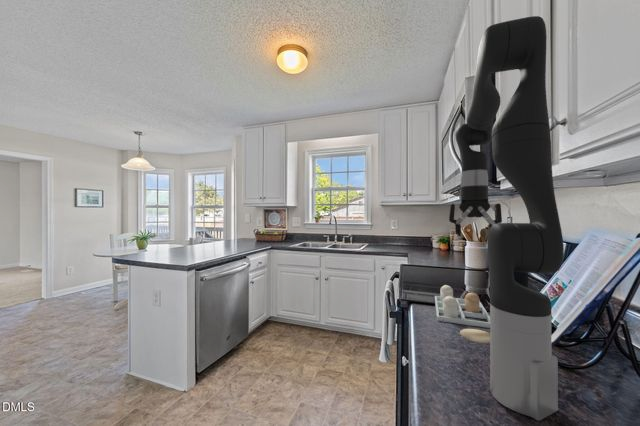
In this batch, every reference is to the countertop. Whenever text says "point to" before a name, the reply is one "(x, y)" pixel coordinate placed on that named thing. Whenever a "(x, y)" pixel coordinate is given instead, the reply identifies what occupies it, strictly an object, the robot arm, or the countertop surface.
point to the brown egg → (471, 303)
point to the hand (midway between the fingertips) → (474, 236)
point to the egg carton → (463, 314)
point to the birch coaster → (476, 335)
